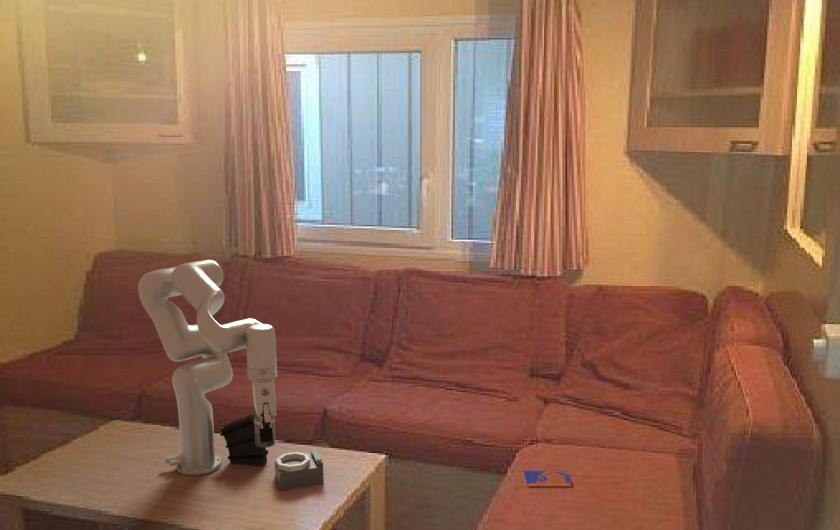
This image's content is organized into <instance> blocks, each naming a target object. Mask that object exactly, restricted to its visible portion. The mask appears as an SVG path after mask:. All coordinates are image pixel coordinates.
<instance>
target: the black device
mask: <svg viewBox="0 0 840 530" xmlns="http://www.w3.org/2000/svg"><path fill="white" fill-rule="evenodd" d="M254 415H255V413H252V414H249V415H247V416H244V417H242V418H240V419H237V420H235V421H232V422H229V423H227V424H226V425H224V426H222V427H221V428H220V432H221V433H220V437H223V438H224V440H225V443H226V445H225V449H227V450H228V453H229V454H228V456H227V460H229V464H236V465H247V466H248V465H249V466H260V467H264V466H265V465H266V463H268V457H267V455H268V454H269V450H268V449H266V448H267V447H265V448H262V447H257V446H256V445H255V425H254Z"/></svg>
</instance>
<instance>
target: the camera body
mask: <svg viewBox="0 0 840 530" xmlns="http://www.w3.org/2000/svg"><path fill="white" fill-rule="evenodd" d="M310 453H311V454H308V453H304V452H301V451H300V452H299V451H294V452H287V453H283V454H281V455H280V456H279V457H277V458H276V459H274V476H275V479H276V482H277V484H278V487H279V490H280V491H286V490H287V491H288V490H291V489H297V488H303V487H310V485H311V486H316V485H315V484H317V485H321V483H322V484H324V481H325V480H324V479H325V478H324V462H323V459H322V457H320V455H319V453H318V450H317V449H312V450H310Z"/></svg>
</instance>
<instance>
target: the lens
mask: <svg viewBox="0 0 840 530" xmlns="http://www.w3.org/2000/svg"><path fill="white" fill-rule="evenodd" d="M262 416H264V414H262ZM262 420H263V421H264V419H262ZM275 420H276V419H275V416H272V414H271V424H272V433H273V441H271V442H264V443H261V442H260V428H261V425H260V418H259V417H258V416H257V413H256V412H255V413H254V425H255V445H256V446H257V447H262V448H265V447H266V448H269V447H272V446H274V445H275V444H276V427H275V424H276V422H275Z"/></svg>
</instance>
